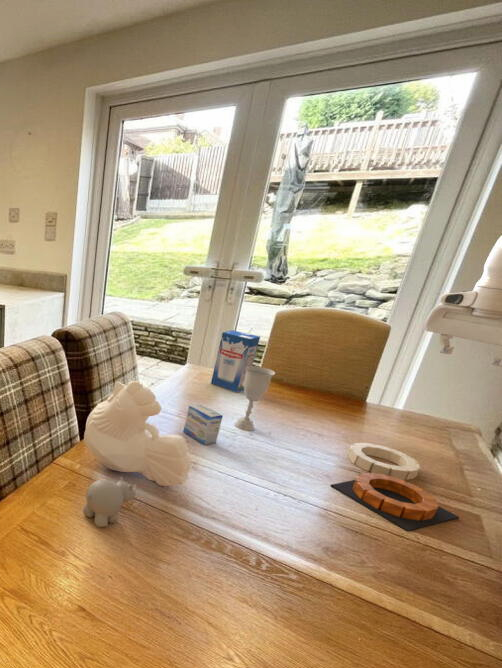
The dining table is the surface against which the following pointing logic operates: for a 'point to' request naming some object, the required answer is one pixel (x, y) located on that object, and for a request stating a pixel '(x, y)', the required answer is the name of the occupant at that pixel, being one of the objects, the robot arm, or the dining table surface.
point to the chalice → (254, 391)
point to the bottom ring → (404, 471)
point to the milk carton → (234, 359)
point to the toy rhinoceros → (107, 500)
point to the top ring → (418, 511)
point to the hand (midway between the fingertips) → (470, 359)
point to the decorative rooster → (135, 437)
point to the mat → (404, 523)
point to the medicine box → (202, 424)
